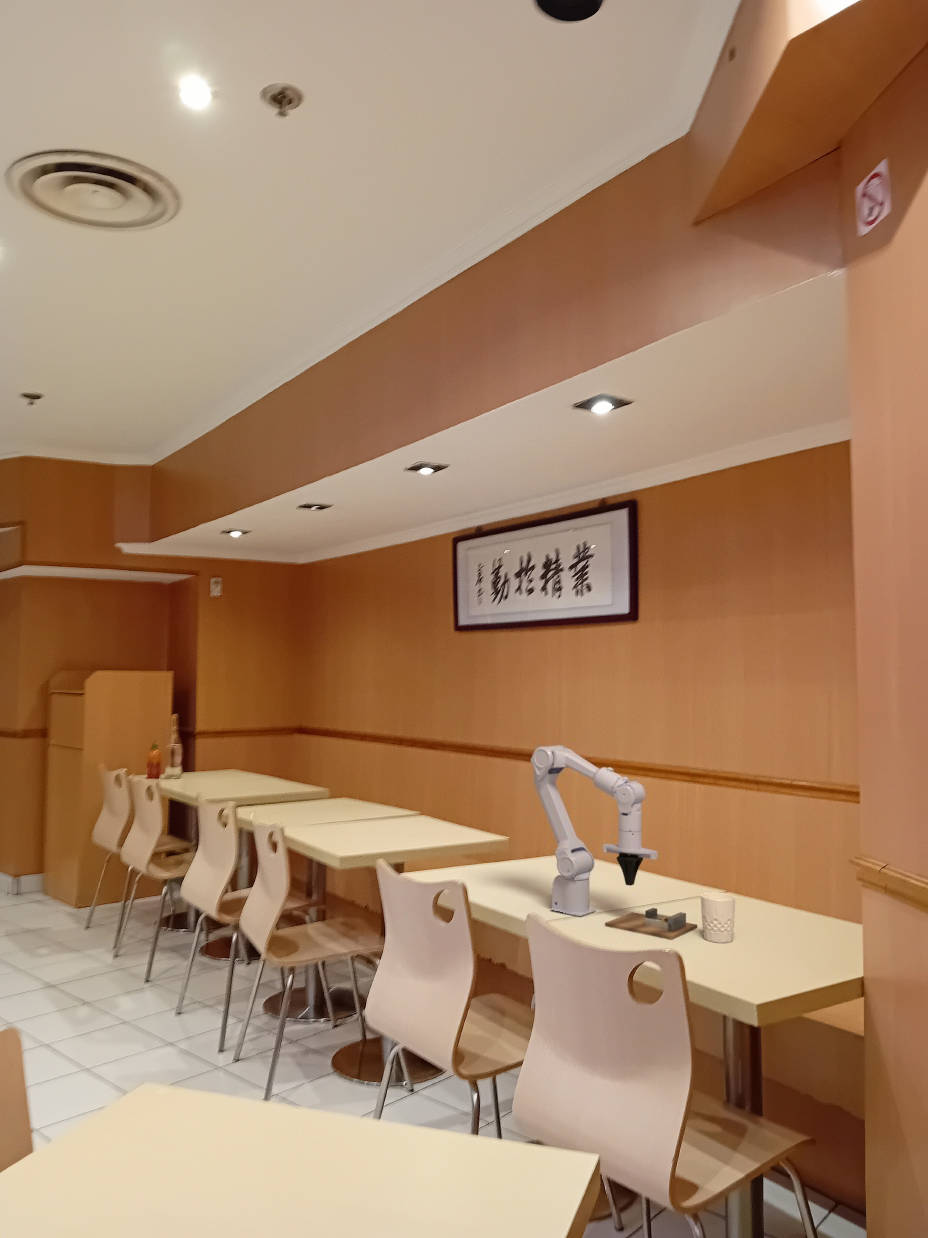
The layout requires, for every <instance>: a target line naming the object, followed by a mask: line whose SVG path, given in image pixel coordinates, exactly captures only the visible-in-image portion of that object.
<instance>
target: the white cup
mask: <svg viewBox="0 0 928 1238" xmlns="http://www.w3.org/2000/svg"><path fill="white" fill-rule="evenodd" d="M700 904H701V906H700V909H701V922H702V924H701V926H702V928H703V929H702V931H703V935H702V936H703V939H704V940H706V941H709V942H712V943H717V944H726V943H731V942H733V941H734V928H735V912H736V911H735V910H736V909H735V908H736V897H735V896H734V895H731V894H729V893H722V892H705V893H701V894H700Z"/></svg>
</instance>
